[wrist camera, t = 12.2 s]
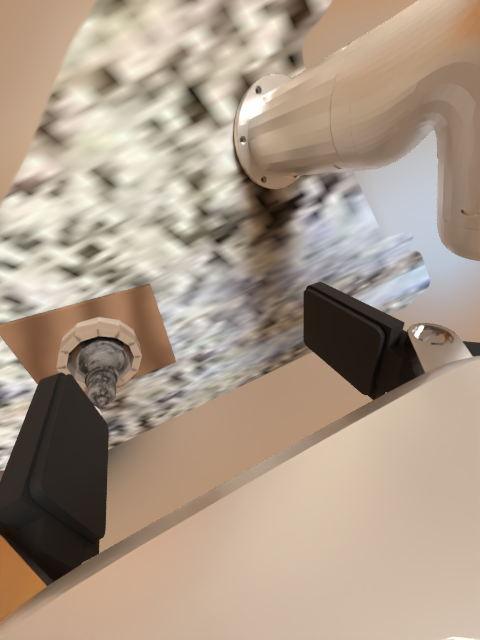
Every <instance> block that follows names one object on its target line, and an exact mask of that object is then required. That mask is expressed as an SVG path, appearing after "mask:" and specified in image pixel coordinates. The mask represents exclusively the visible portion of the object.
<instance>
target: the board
mask: <svg viewBox="0 0 480 640" xmlns="http://www.w3.org/2000/svg"><path fill="white" fill-rule="evenodd" d="M0 336H1V337H2V339H3V340H4V341H5V342H6V344H7V345H8V346H9V348H10V349H11V350H12V352H13V353H14V354H15V355H16V357H17V358H18V359H19V361H20V362H21V363H22V365H23V366H24V367H25V368H26V370H27V371H28V372H29V374H30V375H31V376H32V378H33V379H34V380H35V382H36V383H37V384H38V383H39V381H40V380H41V379H43V378H46V377H49V376H52V375H54V374H57V373H60V372H62V373H64V374H65V375H67V374H71V375H72V376H73V377H74V378H75V380H76V381H77V383H78V384H79V385H80V387H81V388H82V390H83V391H84V392H85V394H86V395H87V391H88V387H87V386H86V384H85V377H86V376H85V375H83V374H82V373H81V372H80V371H79V370H78V368H77V365H76V358H77V356H78V354H79V352H80V351H81V346H82V343H83V341H84V340H88V339H91V338H94V337H97V336H103V337H114V338H117V339H119V340H121V341H122V342H123V344H124V348H123V349H124V350H125V352H126V354H127V364H126V366H125V368H124V369H123V370H122V371H121V372H120V373H119V380H118V382H117V384H116V387H118V386H120V385H123V384H125V383H126V382H127V381H128V380H130V379H133V378H135V377H138V376H140V375H143V374H146V373H148V372H151V371H153V370H156V369H158V368H161V367H164V366H166V365H169V364H171V363H174V362H176V360H175V357H174V354H173V351H172V348H171V345H170V342H169V339H168V336H167V333H166V330H165V327H164V324H163V321H162V318H161V315H160V312H159V309H158V306H157V303H156V300H155V297H154V294H153V291H152V288H151V286H150V284H147V285H143V286H139V287H135V288H132V289H128V290H124V291H121V292H117V293H113V294H110V295H106V296H102V297H99V298H95V299H91V300H88V301H84V302H80V303H76V304H73V305H69V306H65V307H62V308H58V309H54V310H51V311H47V312H43V313H40V314H36V315H32V316H29V317H25V318H21V319H18V320H14V321H10V322H6V323H3V324H0Z"/></svg>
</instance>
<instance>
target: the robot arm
mask: <svg viewBox="0 0 480 640" xmlns="http://www.w3.org/2000/svg"><path fill="white" fill-rule="evenodd" d="M255 90H256V91H255ZM433 129H434V131H435V133H436V137H437V157H438V185H437V226H438V233H439V236H440V239H441V241H442V243H443V244H444V245H445V247H446V248H447V249H449V250H450V251H451V252H453V253H454V254H456V255H458V256H461V257H464V258H467V259H470V260H476V261H480V0H418V1H417V2H415V3H414V4H412V5H411V6H409V7H408V8H406V9H405V10H403V11H401V12H400V13H398V14H397V15H395V16H394V17H392V18H391V19H389V20H388V21H386V22H384V23H382V24H381V25H379V26H378V27H376V28H375V29H373V30H371V31H369V32H368V33H366V34H365V35H363V36H362V37H360V38H358V39H356V40H355V41H353V42H351V43H350V44H348V45H347V46H345V47H343V48H341V49H340V50H338V51H336V52H335V53H333V54H331V55H330V56H328V57H326V58H325V59H323V60H321V61H320V62H318V63H316V64H315V65H313V66H311V67H310V68H308V69H306V70H305V71H303V72H302V73H300V74H298V75H297V76H295V77H293V78H290V77H288V76H286V75H283V74H277V73H276V74H269V75H266V76H264V77H262V78H260V79H259V80H257V81H256V82H255V83H253V84H252V86H251V87H250V88H249V89H248V90H247V91H246V93H245V94H244V96H243V98H242V99H241V102H240V104H239V107H238V109H237V113H236V118H235V126H234V140H235V148H236V152H237V156H238V159H239V161H240V164H241V166H242V168H243V170H244V171H245V173H246V174H247V175H248V177H249V178H250V179H251V180H252V181H253V182H255V183H256V184H257V185H259V186H261V187H263V188H268V189H280V188H284V187H287V186H289V185H291V184H292V183H293V182H295V181H296V180H297V179H298V178H299V177H300V176H301V175H309V174H322V173H334V172H347V171H360V170H370V169H377V168H381V167H384V166H388V165H390V164H392V163H394V162H396V161H398V160H399V159H401V158H402V157H403V156H405V155H406V154H408V153H409V152H410V151H411V150H412V149H414V148H415V147H416V146H417V145H418V144H419V143H420V142H421V141H422V140H423V139H424V138H425V137H426V136H427V135H428V134H429V133H430V132H431V131H432V130H433ZM240 139H241V142H240ZM261 178H262V181H261ZM403 326H404V322H402V321H400V320H398V319H396V318H394V317H392V316H390V315H388V314H386V313H384V312H382V311H380V310H378V309H376V308H373V307H371V306H369V305H367V304H365V303H363V302H361V301H359V300H357V299H355V298H353V297H351V296H349V295H347V294H345V293H343V292H341V291H339V290H337V289H335V288H332V287H330V286H328V285H326V284H324V283H322V282H318V283H315V284H312V285H309V286H307V288H306V290H305V291H304V342H305V344H306V346H307V347H308V348H310V349H311V350H312V351H313V352H314V353H315V354H317V355H318V356H319V357H320V358H321V359H323V360H324V361H325V362H326V363H327V364H328V365H329V366H331V367H332V368H333V369H334V370H335V371H336V372H338V373H339V374H340V375H341V376H342V377H343V378H344V379H346V380H347V381H348V382H349V383H351V385H353V386H354V387H355V388H356V389H357V390H358V391H360V392H361V393H362V394H364V395H368V396H369V397H370V398H372V399H373V401H371V402H370V403H368V404H366V405H364V406H362V407H360V408H359V409H357V410H355V411H353V412H351V413H349V414H348V415H346V416H344V417H342V418H340V419H338V420H337V421H335V422H333V423H331V424H329V425H327V426H326V427H324V428H322V429H320V430H318V431H317V432H315V433H313V434H311V435H310V436H308V437H306V438H304V439H302V440H300V441H299V442H297V443H295V444H293V445H291V446H289V447H288V448H286V449H284V450H282V451H280V452H279V453H277V454H275V455H273V456H271V457H270V458H268V459H266V460H264V461H262V462H260V463H259V464H257V465H255V466H253V467H251V468H250V469H248V470H246V471H244V472H242V473H241V474H239V475H237V476H235V477H234V478H232V479H230V480H228V481H226V482H225V483H223V484H221V485H219V486H217V487H216V488H214V489H212V490H210V491H208V492H207V493H205V494H203V495H201V496H199V497H198V498H196V499H194V500H193V501H191V502H189V503H187V504H185V505H183V506H182V507H180V508H178V509H176V510H174V511H173V512H171V513H169V514H167V515H165V516H164V517H162V518H160V519H158V520H157V521H155V522H153V523H151V524H150V525H148V526H146V527H145V528H143V529H141V530H140V531H138V532H136V533H134V534H132V535H131V536H129V537H127V538H126V539H124V540H122V541H120V542H119V543H117V544H115V545H114V546H112V547H110V548H108V549H107V550H105V551H103V552H101V553H100V554H99V539H101V538H103V537H104V535H105V527H106V526H105V525H106V495H107V463H108V433H109V432H108V426H107V423H106V422H105V420H104V419H103V417H102V416H101V415H100V413H99V412H98V410H97V409H96V408H95V406H94V405H93V403H92V402H91V401H90V399H89V398H88V396H87V395H86V394H85V392H84V391H83V390H82V388H81V387H80V385H79V384H78V383H77V381H76V380H75V378H74V377H73V376H72V375H71V374H67V375H65V374H64V373H62V372H60V373H57V374H54V375H52V376H49V377H46V378H43V379H41V380H40V381H39V383H38V386H37V389H36V391H35V394H34V396H33V399H32V401H31V404H30V407H29V409H28V412H27V414H26V417H25V420H24V422H23V425H22V427H21V430H20V432H19V435H18V437H17V440H16V443H15V445H14V448H13V450H12V453H11V455H10V458H9V461H8V463H7V466H6V468H5V471H4V474H3V476H2V479H1V481H0V640H480V343H475V342H465V341H462V340H461V339H460V338H459V336H458V335H457V334H456V333H455V332H453V331H452V330H450V329H448V328H446V327H443V326H440V325H436V324H430V323H418V324H414V325H412V326H410V327H409V328H408V330H407V332H406V331H404V330H403ZM385 392H387V393H386V394H385ZM97 554H98V555H97ZM92 557H93V558H92ZM90 558H91V559H90ZM88 559H89V560H88ZM86 560H88V561H86ZM84 561H86V562H85V563H83V562H84ZM82 563H83V564H82Z"/></svg>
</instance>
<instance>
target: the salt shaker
mask: <svg viewBox="0 0 480 640" xmlns="http://www.w3.org/2000/svg"><path fill="white" fill-rule="evenodd" d="M123 348H124V344H123V342H122V341H121V340H119V339H117V338H114V337H103V336H97V337H94V338H91V339H88V340H84V341H83V343H82V346H81V351H80V352H79V354H78V356H77V358H76V365H77V368H78V370H79V371H80V372H81V373H82V374H83V375H85V376H86V377H85V384H86V386H87V387H88V391H87V396H88V398H89V399H90V401H91V402H92V403H93V405H94V406H101V407H102V406H104V405H107V404H109V403H110V402H111V401H112V400H113V399H114V398H115V395H116V384H117V382H118V380H119V373H120V372H121V371H122V370H123V369H124V368H125V366H126V364H127V354H126V352H125V350H124V349H123Z"/></svg>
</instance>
